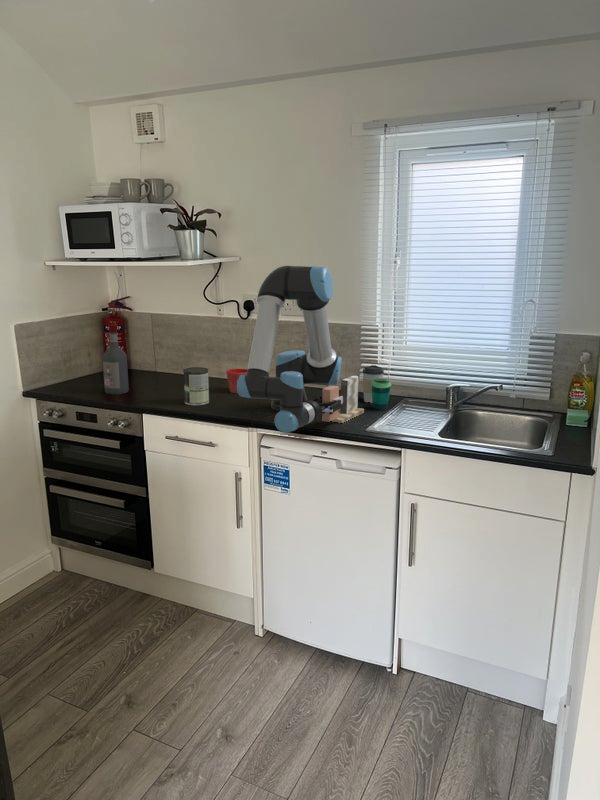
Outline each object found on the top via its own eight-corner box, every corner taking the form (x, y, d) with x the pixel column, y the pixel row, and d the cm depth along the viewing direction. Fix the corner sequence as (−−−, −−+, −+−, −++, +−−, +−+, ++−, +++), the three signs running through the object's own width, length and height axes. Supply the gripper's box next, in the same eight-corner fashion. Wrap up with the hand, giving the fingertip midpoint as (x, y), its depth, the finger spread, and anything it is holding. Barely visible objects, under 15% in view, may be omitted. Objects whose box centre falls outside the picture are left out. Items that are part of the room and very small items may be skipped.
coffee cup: (381, 404, 259) (383, 369, 255) (360, 402, 261) (361, 368, 257) (383, 399, 267) (384, 365, 264) (362, 397, 269) (363, 364, 266)
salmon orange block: (329, 421, 225) (330, 390, 222) (321, 420, 227) (322, 388, 224) (338, 417, 231) (339, 386, 228) (330, 416, 233) (331, 385, 230)
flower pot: (247, 388, 285) (246, 367, 283) (252, 393, 275) (252, 372, 273) (224, 389, 282) (224, 368, 280) (229, 395, 272) (229, 373, 269)
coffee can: (179, 403, 256) (178, 370, 253) (194, 398, 265) (193, 366, 262) (199, 406, 252) (198, 372, 248) (214, 401, 261) (213, 368, 257)
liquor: (117, 395, 269) (112, 326, 261) (101, 392, 273) (97, 325, 266) (131, 391, 276) (128, 324, 269) (116, 388, 281) (112, 323, 273)
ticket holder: (342, 423, 230) (343, 385, 226) (323, 420, 233) (324, 383, 230) (363, 412, 245) (365, 377, 242) (345, 409, 249) (347, 374, 246)
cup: (390, 406, 255) (392, 378, 252) (389, 411, 247) (390, 382, 244) (371, 405, 257) (372, 377, 254) (369, 410, 249) (370, 381, 246)
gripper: (286, 419, 217) (318, 405, 237) (326, 426, 209) (356, 411, 229) (286, 398, 215) (318, 386, 235) (327, 405, 207) (357, 391, 227)
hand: (337, 398), depth 232 cm, fingers closed on salmon orange block, 3 cm apart
